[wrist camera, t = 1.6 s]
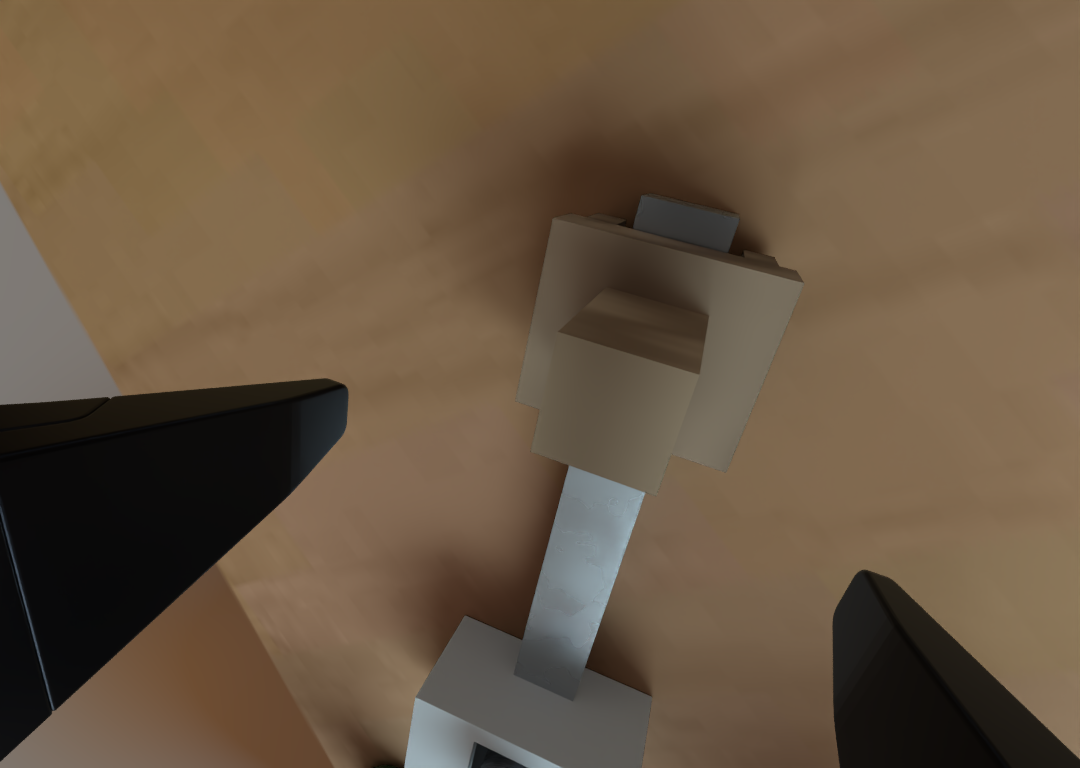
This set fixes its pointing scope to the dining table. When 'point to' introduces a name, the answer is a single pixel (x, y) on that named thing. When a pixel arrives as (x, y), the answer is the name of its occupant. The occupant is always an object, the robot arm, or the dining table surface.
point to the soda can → (385, 766)
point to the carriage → (648, 348)
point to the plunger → (498, 761)
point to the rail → (598, 508)
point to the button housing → (519, 712)
